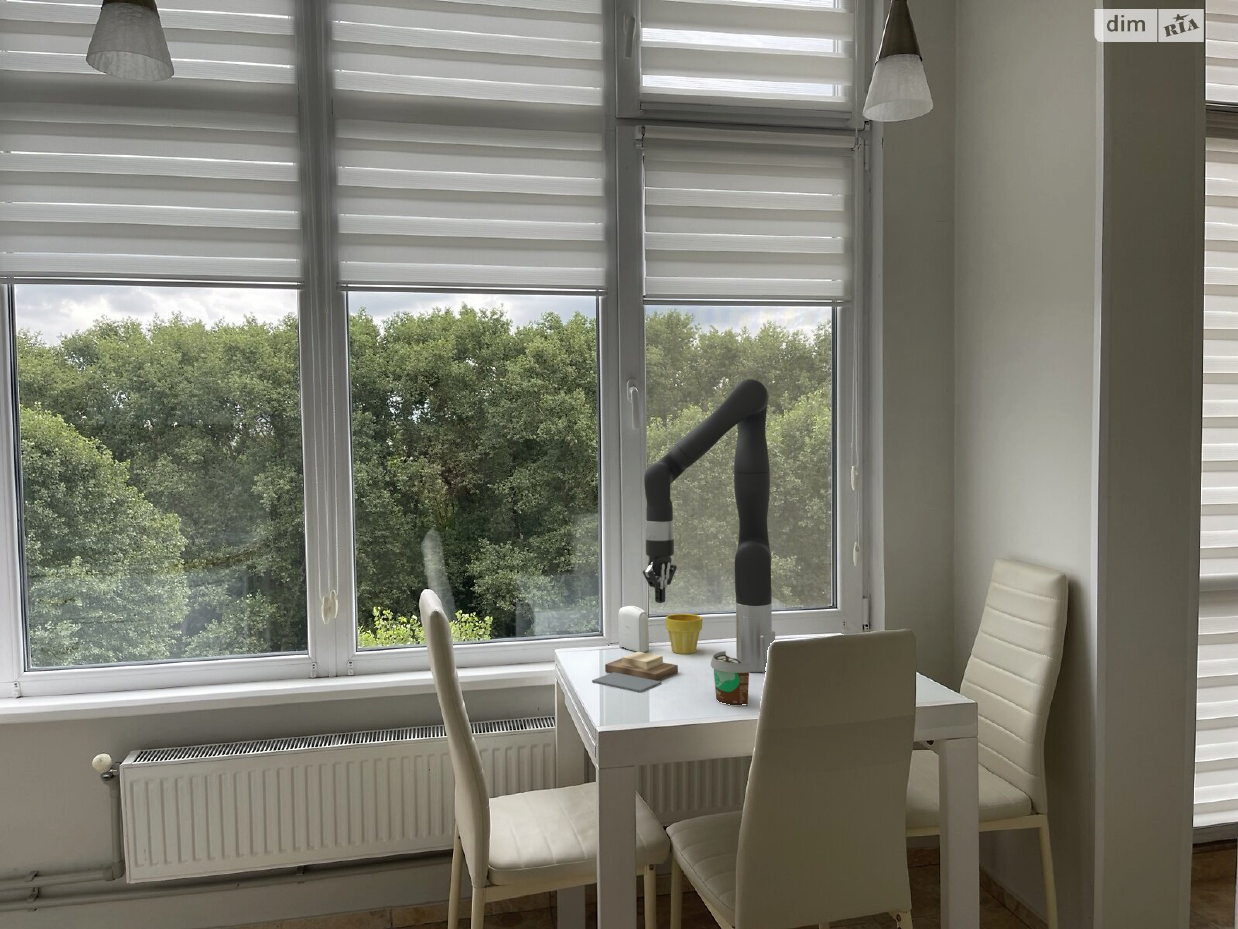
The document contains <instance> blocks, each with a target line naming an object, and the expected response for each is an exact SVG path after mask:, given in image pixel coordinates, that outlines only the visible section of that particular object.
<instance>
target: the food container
mask: <svg viewBox="0 0 1238 929" xmlns="http://www.w3.org/2000/svg"><path fill="white" fill-rule="evenodd" d="M710 667H711V668H712V669H713V677H714V689H715V690H714V692H715V700H716V699H717V700H718V701H719V702H722V703H726V704H730V705H742V704H748V705H749V702H748V701H749V682H750V673H752V672H751V671H750V666H749V663H741V662H740V661H739V660H737V658H735V657H730V656H728V655H727V651H726V650H724V651H719V652H716V653H714V654H713V655H712V657H711V660H710ZM717 700H716V701H717ZM718 701H717V702H718ZM719 702H718V703H719ZM730 705H729V706H730Z"/></svg>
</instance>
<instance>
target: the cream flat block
mask: <svg viewBox="0 0 1238 929" xmlns="http://www.w3.org/2000/svg"><path fill="white" fill-rule="evenodd" d="M663 658H664V656H663V655H658V654H653V653H647V652H637V651H635V652H634V653H630V654H628V655H625V656H622V657H621V659H622V665H625V666H630V667H635V668H640V669H645V670H648V669H650V668H653V667H656V666H658V665H661V664H663V662H664V659H663Z"/></svg>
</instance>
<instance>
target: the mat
mask: <svg viewBox="0 0 1238 929" xmlns="http://www.w3.org/2000/svg"><path fill="white" fill-rule="evenodd" d="M591 682H592V683H593V684H599V685H603V686H609V687H612V688H617V689H622V688H623V690H625V691H626V690H627V691H632V692H636V691H637V692H636V693H640V694H641V693H643V692H645V691H647V690H650V689H652V688H655V687H657V686H659V685H662V684H663V682H662V681H661V680H659V681H656V680H651V679H646V678H641V677H636V676H631V675H626V674H621V673H616V672H613V673H607V674H605V675H603V676H600V677H597V678H594V679H592V680H591ZM642 691H643V692H642Z"/></svg>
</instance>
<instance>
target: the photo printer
mask: <svg viewBox="0 0 1238 929" xmlns="http://www.w3.org/2000/svg"><path fill="white" fill-rule="evenodd" d="M617 619H618V620H617V621H618V622H617V623H618V624H617V625H618V647H620V648H622V647H624V648H623V649H625V648H626V649H627V650H629V651H633V652H643V653H647V652H648V651H649V649H650V640H649V638H650V637H649V635H650V634H649V633H650V632H649V631H650V630H649V614H648V612H647V611H645V610H643V609H642V608H641V607H638V606H635V605H626V606H623V607H620V608H619V610H618V616H617Z"/></svg>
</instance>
